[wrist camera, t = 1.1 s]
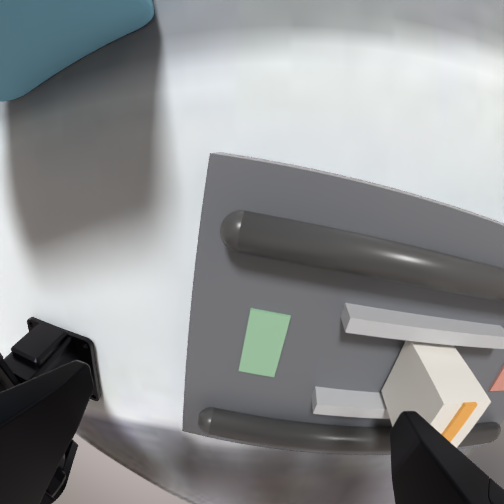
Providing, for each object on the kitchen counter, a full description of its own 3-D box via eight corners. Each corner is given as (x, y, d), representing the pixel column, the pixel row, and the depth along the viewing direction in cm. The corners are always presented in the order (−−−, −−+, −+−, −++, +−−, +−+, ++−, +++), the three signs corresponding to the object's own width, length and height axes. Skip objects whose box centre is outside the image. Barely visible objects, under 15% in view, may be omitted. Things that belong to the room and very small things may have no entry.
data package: (151, -32, 13) (43, -136, 1) (164, 20, 14) (29, -87, 2) (11, 53, 14) (-116, 40, 3) (15, 103, 16) (-125, 110, 4)
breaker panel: (474, 427, 21) (489, 459, 17) (190, 407, 22) (176, 449, 18) (565, 248, 15) (599, 268, 11) (220, 152, 16) (199, 154, 12)
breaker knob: (421, 393, 16) (449, 460, 11) (380, 391, 17) (402, 464, 11) (450, 339, 15) (493, 403, 10) (408, 335, 15) (446, 406, 10)
